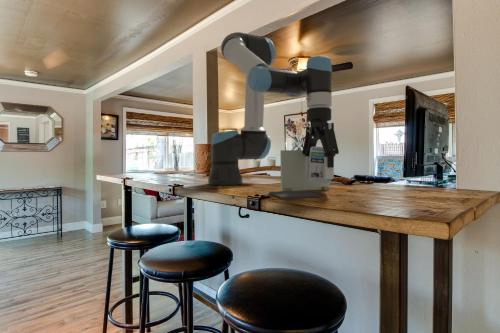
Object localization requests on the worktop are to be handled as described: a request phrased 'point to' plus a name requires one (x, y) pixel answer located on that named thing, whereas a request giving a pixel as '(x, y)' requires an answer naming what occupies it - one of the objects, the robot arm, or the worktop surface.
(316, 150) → the light bulb box
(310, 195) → the mat
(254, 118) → the robot arm
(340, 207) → the worktop surface
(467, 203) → the worktop surface
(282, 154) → the screen
